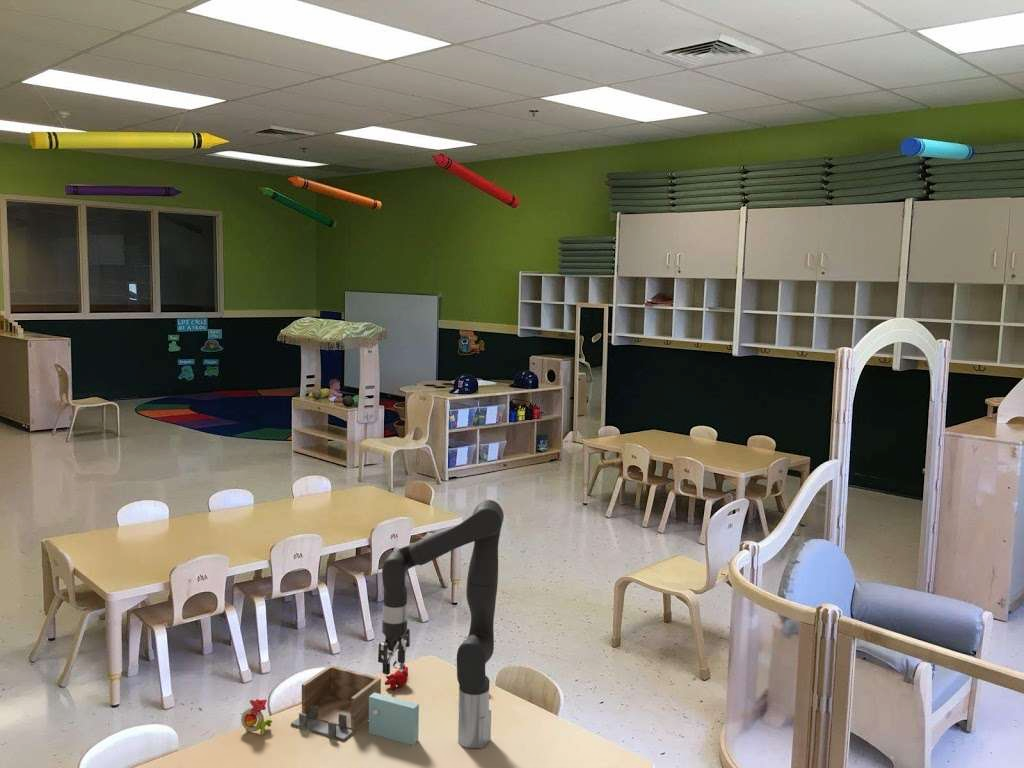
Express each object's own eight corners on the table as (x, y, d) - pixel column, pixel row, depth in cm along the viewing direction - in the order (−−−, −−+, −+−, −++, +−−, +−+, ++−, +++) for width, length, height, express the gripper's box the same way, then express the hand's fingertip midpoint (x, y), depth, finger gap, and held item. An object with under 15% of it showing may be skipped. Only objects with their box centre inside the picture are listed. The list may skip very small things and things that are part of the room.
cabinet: (380, 710, 280) (380, 678, 279) (343, 741, 261) (343, 706, 260) (329, 696, 288) (329, 665, 287) (290, 725, 270) (290, 692, 268)
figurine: (413, 670, 307) (409, 691, 292) (390, 674, 307) (385, 695, 293) (410, 653, 306) (405, 674, 292) (387, 658, 306) (381, 678, 292)
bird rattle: (244, 744, 262) (271, 734, 261) (230, 711, 261) (256, 702, 260) (252, 733, 269) (278, 723, 268) (237, 701, 268) (263, 692, 267)
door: (418, 740, 263) (418, 704, 261) (411, 747, 259) (411, 710, 258) (374, 728, 270) (374, 692, 268) (366, 734, 266) (366, 698, 264)
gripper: (392, 628, 252) (391, 680, 254) (417, 611, 265) (416, 661, 267) (371, 623, 255) (370, 675, 257) (396, 607, 268) (395, 656, 270)
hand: (393, 668), depth 262 cm, fingers open, 8 cm apart
